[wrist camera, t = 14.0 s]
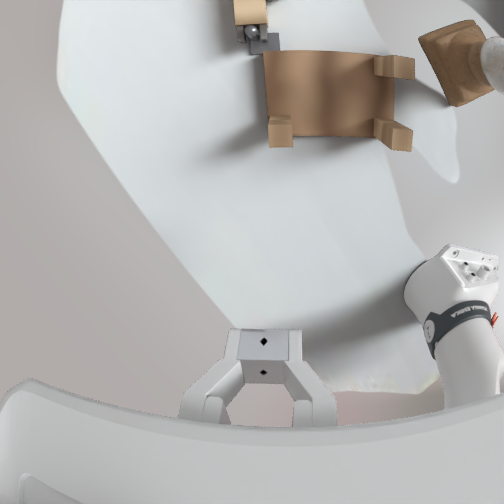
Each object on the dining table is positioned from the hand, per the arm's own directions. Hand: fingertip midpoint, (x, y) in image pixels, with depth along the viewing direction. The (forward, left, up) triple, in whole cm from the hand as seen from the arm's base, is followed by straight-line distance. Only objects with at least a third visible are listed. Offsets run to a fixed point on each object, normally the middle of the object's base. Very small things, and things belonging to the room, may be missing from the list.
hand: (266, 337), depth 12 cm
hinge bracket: (+1, -15, -31) cm, 34 cm away
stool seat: (-7, -7, -31) cm, 33 cm away
